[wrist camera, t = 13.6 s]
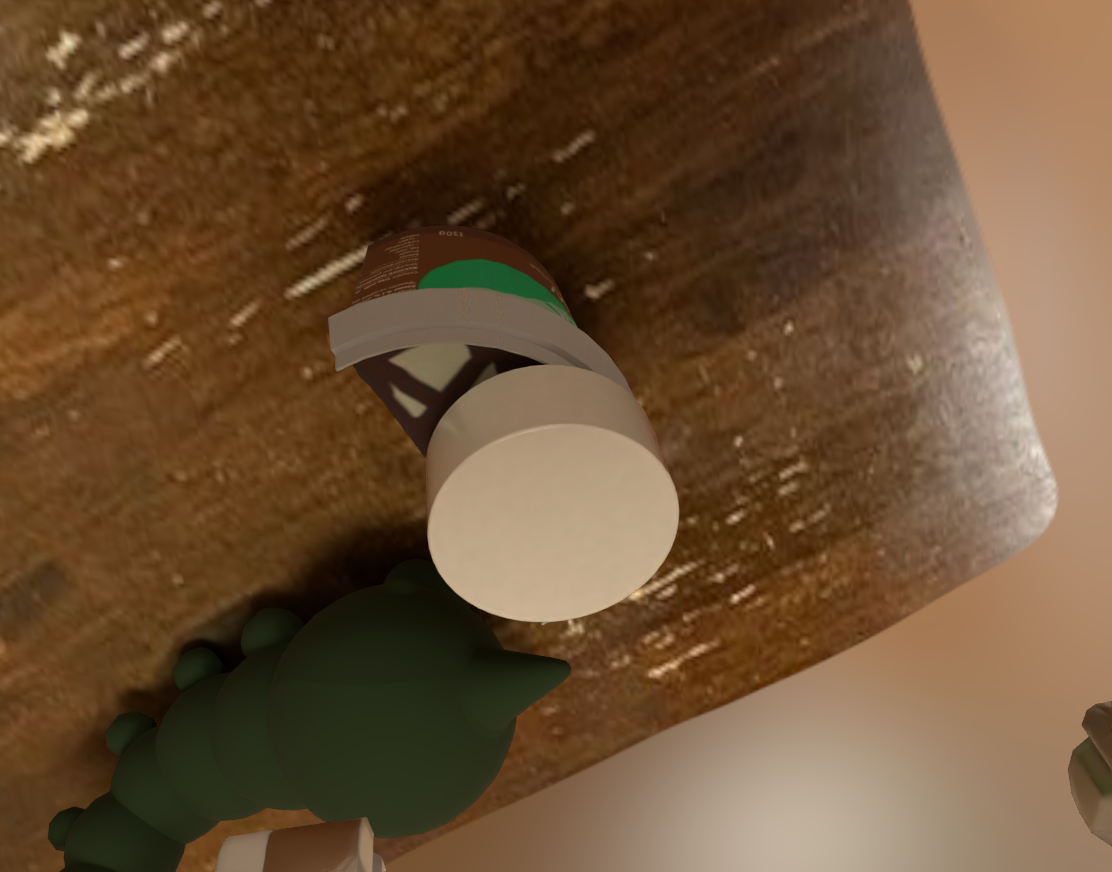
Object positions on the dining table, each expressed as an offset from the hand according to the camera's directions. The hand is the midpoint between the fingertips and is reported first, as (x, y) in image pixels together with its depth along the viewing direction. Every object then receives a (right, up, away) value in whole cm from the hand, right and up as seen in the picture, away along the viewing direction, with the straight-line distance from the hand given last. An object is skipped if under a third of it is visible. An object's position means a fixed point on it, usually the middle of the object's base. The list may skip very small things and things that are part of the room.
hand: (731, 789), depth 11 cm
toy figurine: (-13, -5, +33) cm, 36 cm away
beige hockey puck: (-2, +3, +17) cm, 17 cm away
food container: (-4, +9, +25) cm, 27 cm away
